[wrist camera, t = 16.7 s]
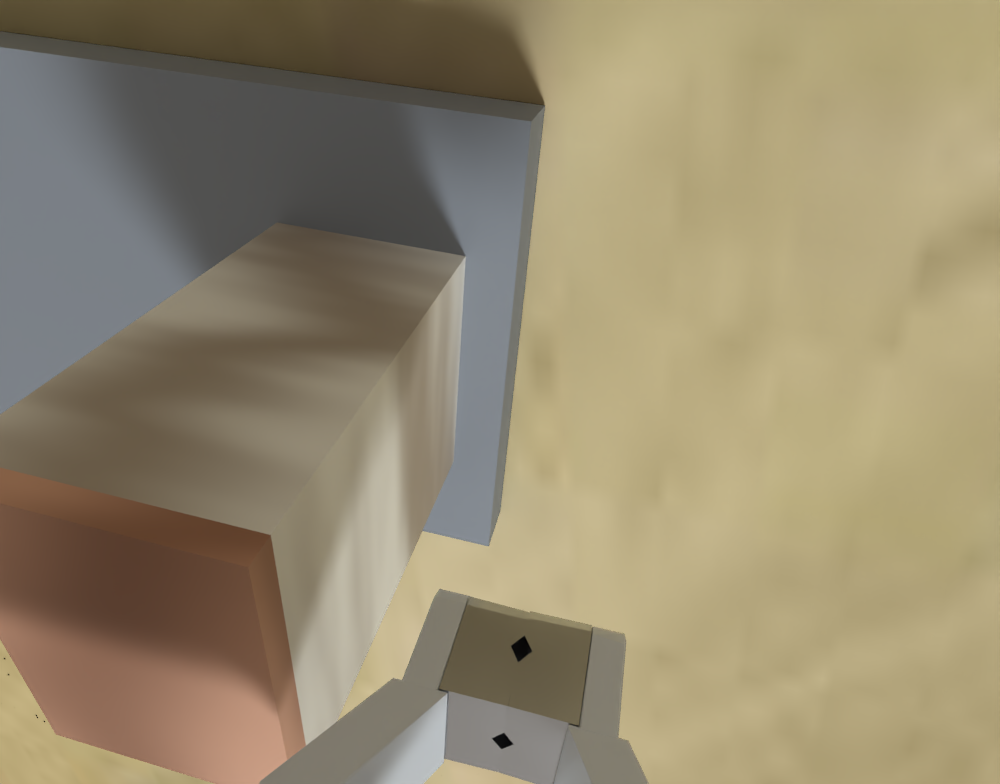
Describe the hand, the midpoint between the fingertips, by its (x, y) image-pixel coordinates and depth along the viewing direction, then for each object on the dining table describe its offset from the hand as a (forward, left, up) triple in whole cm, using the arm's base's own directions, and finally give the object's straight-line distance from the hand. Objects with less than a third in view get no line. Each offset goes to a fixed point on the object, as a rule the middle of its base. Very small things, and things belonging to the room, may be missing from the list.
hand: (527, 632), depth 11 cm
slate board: (+8, -7, -8) cm, 13 cm away
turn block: (+4, -4, -7) cm, 9 cm away
